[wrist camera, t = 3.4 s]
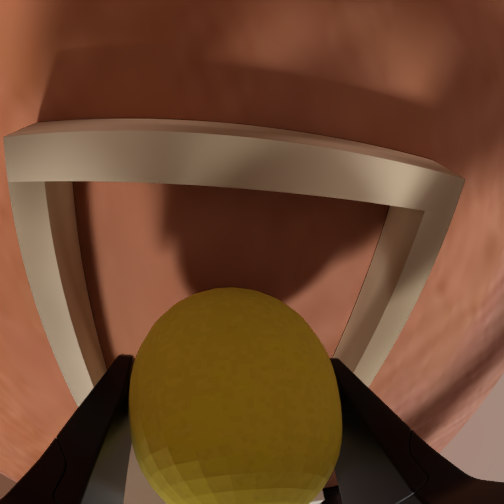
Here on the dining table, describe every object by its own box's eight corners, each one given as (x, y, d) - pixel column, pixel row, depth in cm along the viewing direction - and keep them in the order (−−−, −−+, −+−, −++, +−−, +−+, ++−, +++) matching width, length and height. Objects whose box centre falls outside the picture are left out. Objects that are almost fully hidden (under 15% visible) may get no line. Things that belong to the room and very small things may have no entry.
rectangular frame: (432, 160, 9) (465, 179, 8) (334, 395, 16) (344, 423, 14) (35, 122, 7) (3, 136, 6) (92, 391, 14) (85, 420, 12)
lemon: (265, 365, 13) (299, 546, 7) (136, 338, 12) (112, 542, 5) (329, 263, 11) (435, 487, 4) (169, 214, 9) (121, 512, 3)
